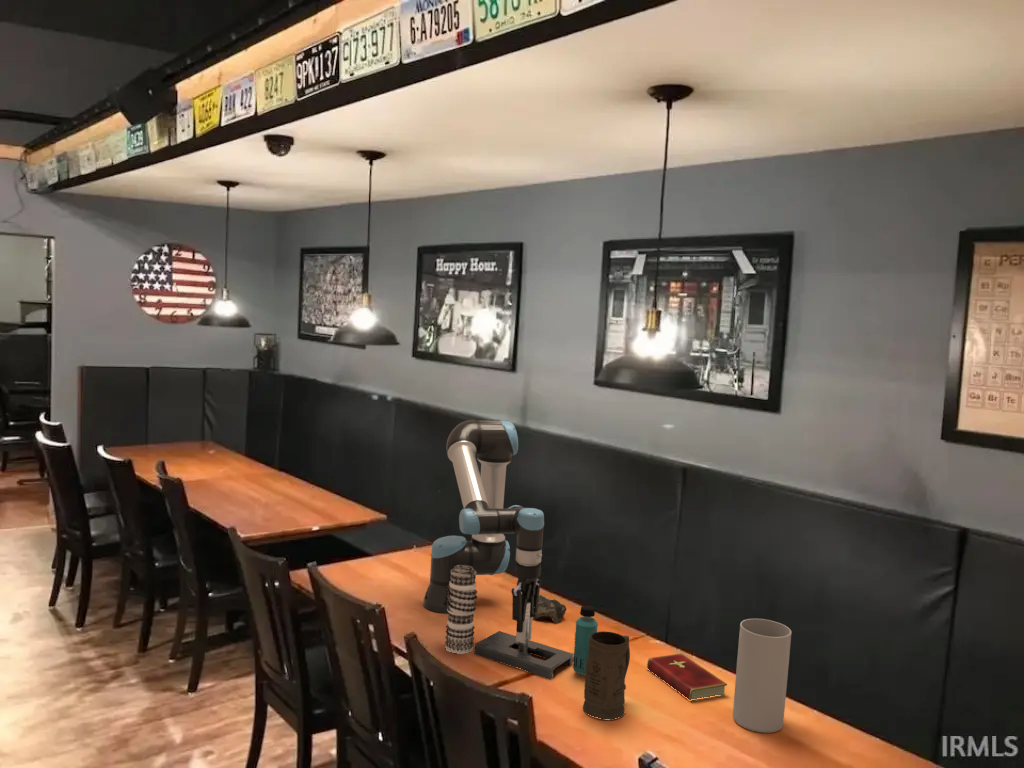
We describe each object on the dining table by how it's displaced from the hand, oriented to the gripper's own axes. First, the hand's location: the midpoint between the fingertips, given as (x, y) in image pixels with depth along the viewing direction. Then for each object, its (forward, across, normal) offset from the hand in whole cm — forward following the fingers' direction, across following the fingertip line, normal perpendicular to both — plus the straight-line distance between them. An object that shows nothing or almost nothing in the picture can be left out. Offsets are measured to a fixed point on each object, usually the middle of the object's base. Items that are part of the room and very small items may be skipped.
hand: (523, 639), depth 241 cm
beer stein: (+6, -11, -33) cm, 36 cm away
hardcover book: (+6, +16, -44) cm, 48 cm away
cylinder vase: (+6, +6, -68) cm, 68 cm away
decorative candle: (+6, -6, +19) cm, 20 cm away
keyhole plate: (+6, 0, 0) cm, 6 cm away
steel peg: (+6, 0, 0) cm, 6 cm away
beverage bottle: (+6, +2, -19) cm, 20 cm away
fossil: (+6, +34, +10) cm, 36 cm away
